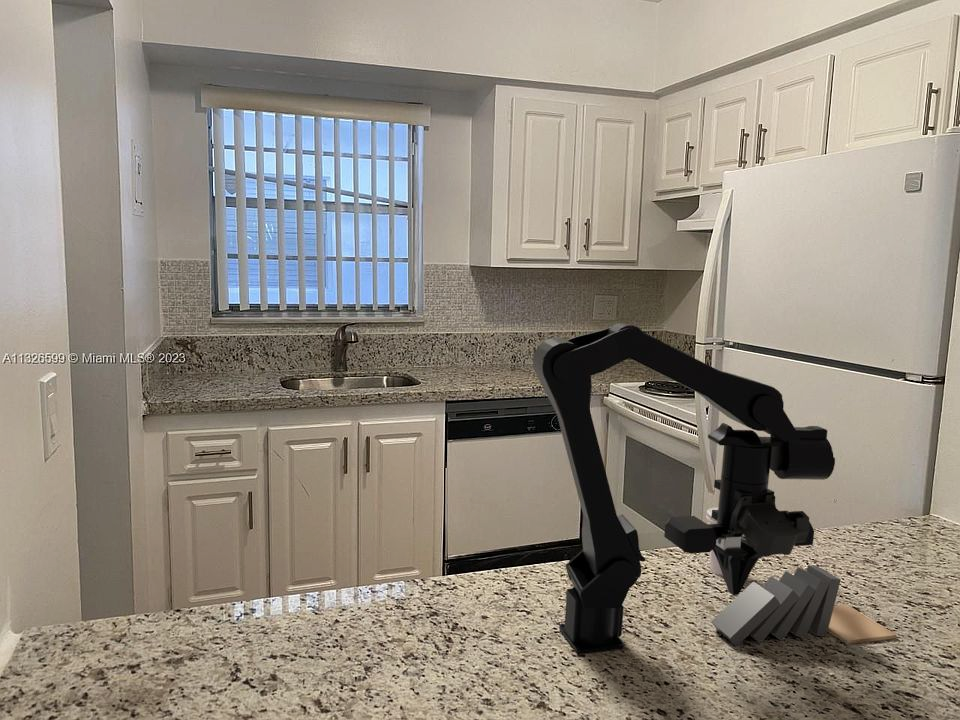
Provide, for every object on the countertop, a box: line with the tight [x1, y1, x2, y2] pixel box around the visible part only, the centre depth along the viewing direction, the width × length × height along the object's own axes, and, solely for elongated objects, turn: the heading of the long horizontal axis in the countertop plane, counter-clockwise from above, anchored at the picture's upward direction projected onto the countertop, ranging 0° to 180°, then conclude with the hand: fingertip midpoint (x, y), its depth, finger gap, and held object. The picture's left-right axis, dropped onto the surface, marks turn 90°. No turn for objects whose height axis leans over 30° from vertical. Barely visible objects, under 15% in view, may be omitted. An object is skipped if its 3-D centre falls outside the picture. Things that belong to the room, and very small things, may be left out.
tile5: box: [806, 564, 842, 637], centre depth 98 cm, size 2×4×8 cm, turn 15°
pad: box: [827, 603, 897, 645], centre depth 100 cm, size 8×9×1 cm
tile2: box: [748, 575, 800, 644], centre depth 96 cm, size 2×4×8 cm
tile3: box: [769, 570, 816, 642], centre depth 97 cm, size 2×4×8 cm
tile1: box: [710, 581, 780, 647], centre depth 95 cm, size 2×4×8 cm
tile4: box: [789, 566, 829, 639], centre depth 98 cm, size 2×4×8 cm, turn 16°
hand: (733, 593), depth 95 cm, fingers closed
